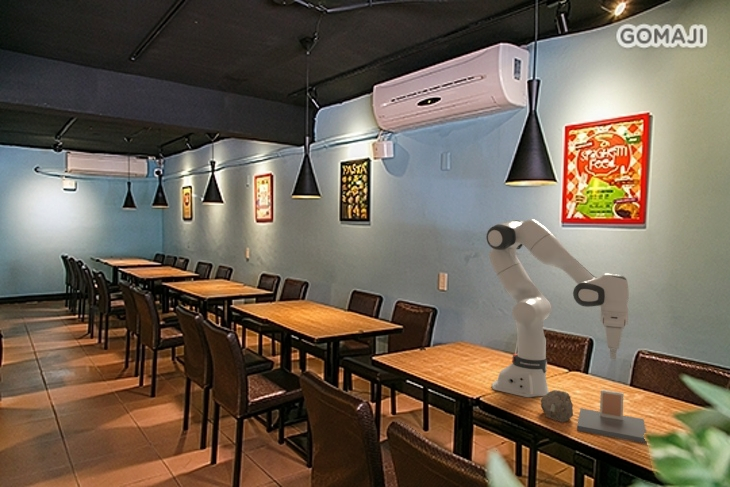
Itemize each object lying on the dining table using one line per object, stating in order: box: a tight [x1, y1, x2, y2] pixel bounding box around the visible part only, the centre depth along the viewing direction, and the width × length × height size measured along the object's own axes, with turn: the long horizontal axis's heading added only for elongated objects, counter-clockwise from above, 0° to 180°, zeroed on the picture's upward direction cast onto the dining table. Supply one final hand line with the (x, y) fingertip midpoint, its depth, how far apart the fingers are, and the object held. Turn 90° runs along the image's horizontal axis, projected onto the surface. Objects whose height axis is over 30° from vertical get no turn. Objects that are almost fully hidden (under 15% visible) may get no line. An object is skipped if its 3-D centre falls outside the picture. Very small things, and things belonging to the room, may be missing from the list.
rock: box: [540, 389, 574, 423], centre depth 170 cm, size 14×10×8 cm
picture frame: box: [599, 389, 624, 420], centre depth 167 cm, size 7×2×9 cm, turn 62°
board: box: [576, 408, 647, 444], centre depth 163 cm, size 20×18×2 cm
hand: (613, 356), depth 174 cm, fingers open, 6 cm apart
